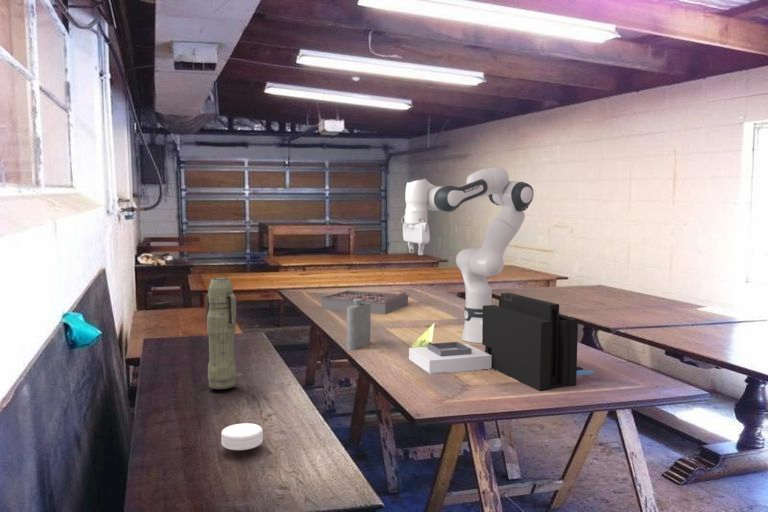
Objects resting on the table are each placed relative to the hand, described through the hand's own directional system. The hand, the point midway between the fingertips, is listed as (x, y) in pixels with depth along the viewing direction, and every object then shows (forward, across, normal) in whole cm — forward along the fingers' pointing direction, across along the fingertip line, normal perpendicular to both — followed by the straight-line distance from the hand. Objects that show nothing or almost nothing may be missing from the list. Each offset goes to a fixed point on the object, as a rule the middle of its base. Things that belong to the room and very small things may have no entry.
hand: (416, 254), depth 250 cm
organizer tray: (+40, +99, -9) cm, 107 cm away
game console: (+40, -43, -32) cm, 67 cm away
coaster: (+40, -77, +76) cm, 115 cm away
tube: (+37, -3, 0) cm, 37 cm away
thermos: (+39, -25, +77) cm, 90 cm away
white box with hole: (+39, -24, -4) cm, 46 cm away
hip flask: (+39, +14, +20) cm, 46 cm away
